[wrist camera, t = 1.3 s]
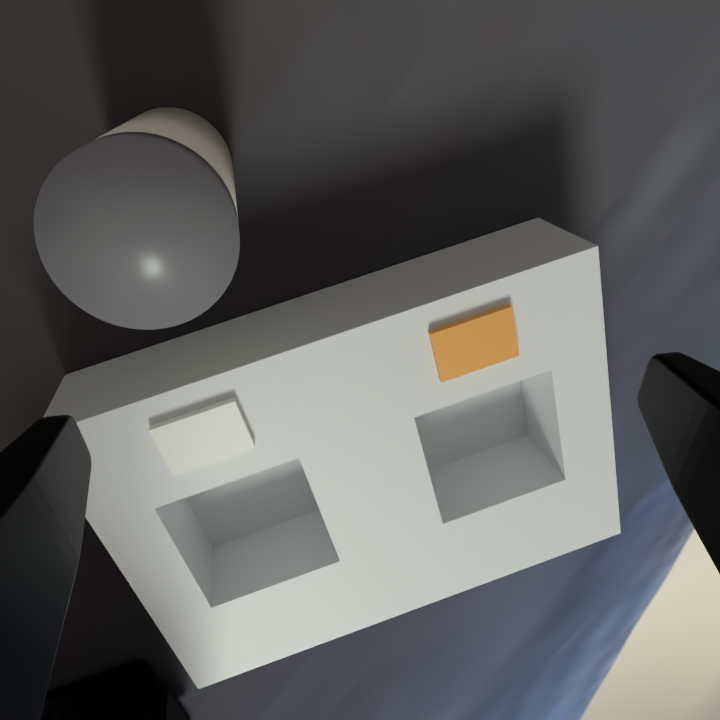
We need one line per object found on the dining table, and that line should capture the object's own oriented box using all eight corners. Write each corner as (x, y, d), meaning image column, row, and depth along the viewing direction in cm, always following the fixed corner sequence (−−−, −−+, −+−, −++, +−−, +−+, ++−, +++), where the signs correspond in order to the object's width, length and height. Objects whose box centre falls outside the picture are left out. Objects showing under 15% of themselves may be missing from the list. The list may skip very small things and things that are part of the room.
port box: (201, 607, 30) (198, 695, 26) (65, 375, 24) (30, 442, 19) (570, 474, 31) (624, 537, 27) (537, 217, 25) (602, 248, 20)
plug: (144, 239, 22) (91, 354, 13) (93, 127, 20) (-8, 172, 11) (248, 205, 22) (266, 295, 13) (207, 91, 20) (196, 109, 12)
